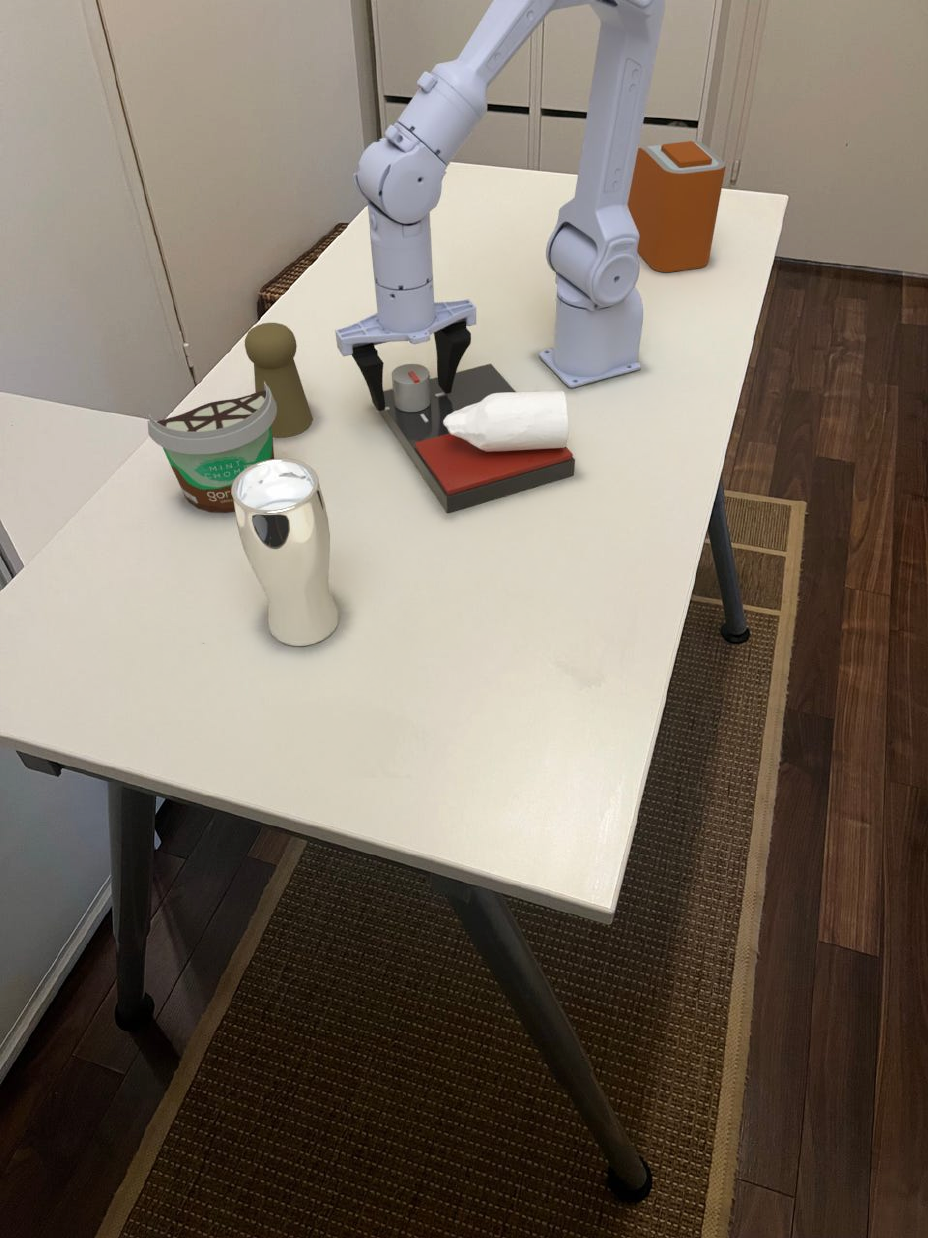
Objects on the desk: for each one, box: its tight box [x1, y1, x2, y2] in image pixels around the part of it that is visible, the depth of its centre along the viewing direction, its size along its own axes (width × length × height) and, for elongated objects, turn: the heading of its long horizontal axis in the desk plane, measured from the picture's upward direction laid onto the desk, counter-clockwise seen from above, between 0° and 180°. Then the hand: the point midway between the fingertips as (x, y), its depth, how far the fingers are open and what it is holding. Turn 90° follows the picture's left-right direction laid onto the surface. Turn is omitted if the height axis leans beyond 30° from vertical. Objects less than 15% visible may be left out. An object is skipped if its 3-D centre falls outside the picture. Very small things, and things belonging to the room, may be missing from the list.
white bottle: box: [443, 390, 570, 452], centre depth 91 cm, size 6×12×6 cm, turn 94°
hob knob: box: [391, 363, 431, 412], centre depth 99 cm, size 4×4×4 cm
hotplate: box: [415, 433, 574, 495], centre depth 93 cm, size 14×9×1 cm, turn 114°
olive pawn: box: [244, 322, 314, 438], centre depth 98 cm, size 6×6×11 cm
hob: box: [376, 363, 576, 514], centre depth 98 cm, size 15×21×2 cm
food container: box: [147, 381, 277, 514], centre depth 89 cm, size 12×6×10 cm, turn 117°
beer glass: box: [231, 458, 340, 647], centre depth 75 cm, size 7×7×15 cm
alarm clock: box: [628, 140, 726, 273], centre depth 124 cm, size 15×8×14 cm, turn 13°
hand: (412, 397), depth 100 cm, fingers open, 7 cm apart
